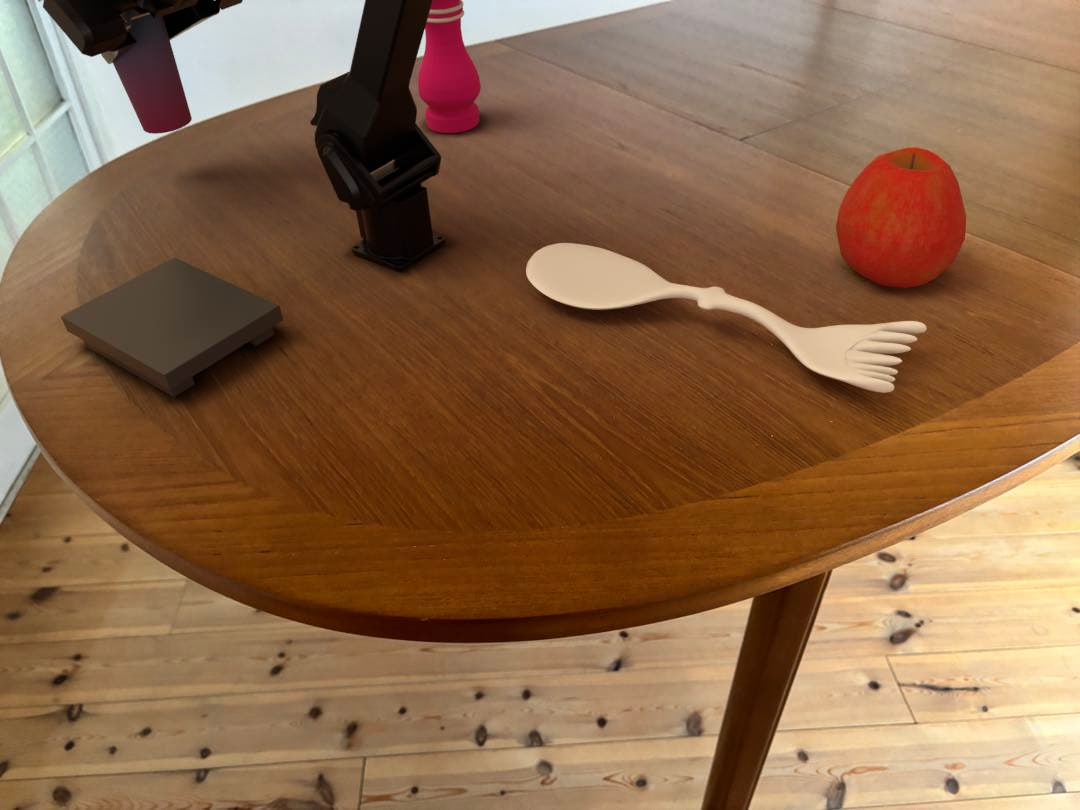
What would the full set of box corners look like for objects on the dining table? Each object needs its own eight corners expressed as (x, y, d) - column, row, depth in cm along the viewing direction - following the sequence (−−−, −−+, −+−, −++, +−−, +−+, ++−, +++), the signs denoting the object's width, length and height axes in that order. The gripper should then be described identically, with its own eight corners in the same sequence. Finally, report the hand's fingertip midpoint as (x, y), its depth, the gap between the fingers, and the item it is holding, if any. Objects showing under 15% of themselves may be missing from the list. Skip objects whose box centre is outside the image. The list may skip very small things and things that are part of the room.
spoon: (884, 422, 64) (894, 383, 62) (507, 301, 78) (504, 266, 76) (920, 355, 70) (930, 317, 68) (563, 253, 84) (561, 219, 82)
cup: (186, 134, 93) (130, -22, 84) (124, 139, 94) (61, -15, 85) (209, 109, 99) (159, -41, 89) (149, 113, 99) (93, -35, 90)
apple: (845, 228, 85) (865, 119, 78) (962, 250, 81) (994, 138, 74) (816, 282, 78) (836, 168, 72) (943, 309, 74) (976, 191, 68)
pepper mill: (492, 128, 107) (477, -60, 94) (432, 140, 105) (408, -50, 92) (472, 107, 112) (455, -74, 99) (415, 118, 110) (390, -65, 97)
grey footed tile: (287, 335, 76) (279, 304, 74) (176, 406, 69) (164, 374, 67) (184, 286, 82) (174, 256, 81) (73, 346, 76) (60, 316, 74)
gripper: (192, -157, 85) (155, -40, 97) (8, -118, 73) (-9, 10, 85) (272, -57, 86) (225, 46, 98) (103, -4, 75) (73, 106, 87)
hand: (133, 49), depth 92 cm, fingers closed on cup, 6 cm apart
